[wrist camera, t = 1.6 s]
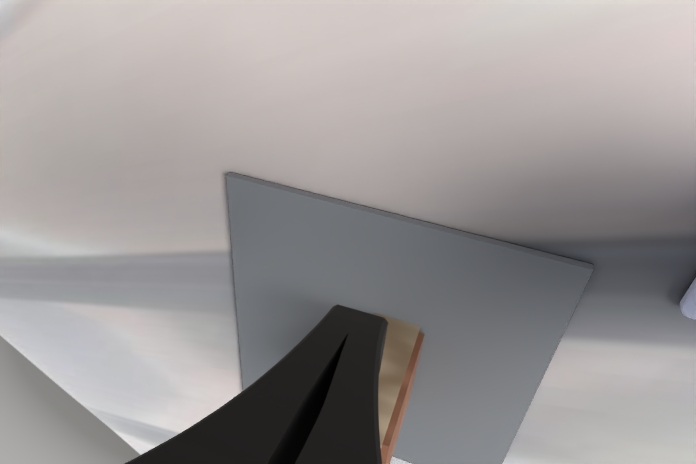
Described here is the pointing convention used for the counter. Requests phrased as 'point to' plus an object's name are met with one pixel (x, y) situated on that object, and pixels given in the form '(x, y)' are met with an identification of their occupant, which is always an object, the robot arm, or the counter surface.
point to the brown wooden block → (396, 380)
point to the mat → (405, 307)
